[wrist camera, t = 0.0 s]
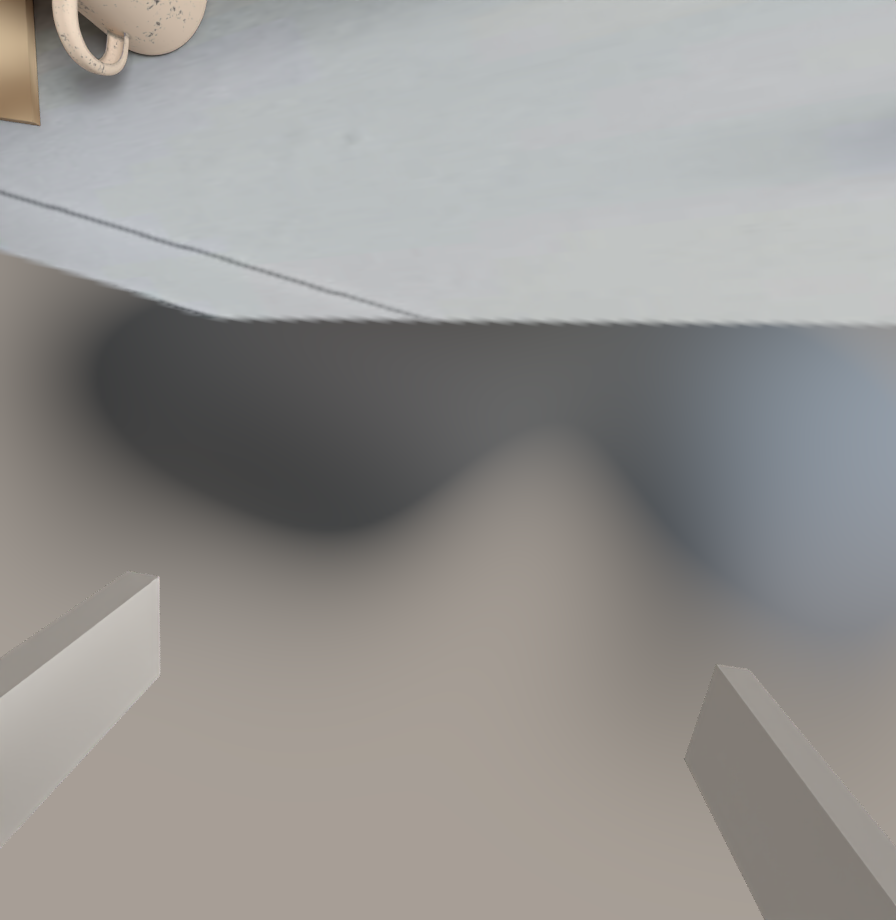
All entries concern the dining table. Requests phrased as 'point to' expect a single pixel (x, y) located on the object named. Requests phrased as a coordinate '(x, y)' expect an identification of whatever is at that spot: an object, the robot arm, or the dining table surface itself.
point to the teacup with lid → (126, 28)
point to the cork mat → (18, 63)
